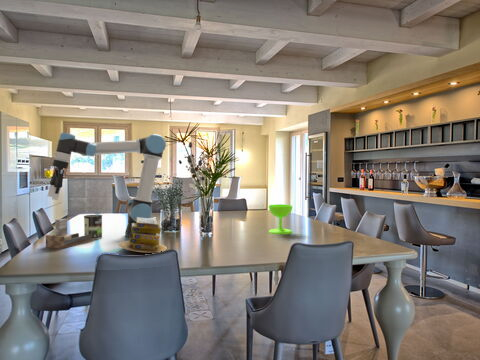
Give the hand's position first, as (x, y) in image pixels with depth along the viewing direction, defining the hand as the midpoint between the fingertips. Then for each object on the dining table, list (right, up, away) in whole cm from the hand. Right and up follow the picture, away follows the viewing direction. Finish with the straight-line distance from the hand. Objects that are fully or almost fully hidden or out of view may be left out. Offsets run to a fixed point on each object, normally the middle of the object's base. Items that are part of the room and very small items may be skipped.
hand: (52, 198), depth 188 cm
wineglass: (+131, -26, +44) cm, 140 cm away
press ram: (+4, -25, +2) cm, 25 cm away
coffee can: (+13, -26, +23) cm, 37 cm away
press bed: (+6, -26, +7) cm, 28 cm away
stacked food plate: (+52, -27, -6) cm, 59 cm away
